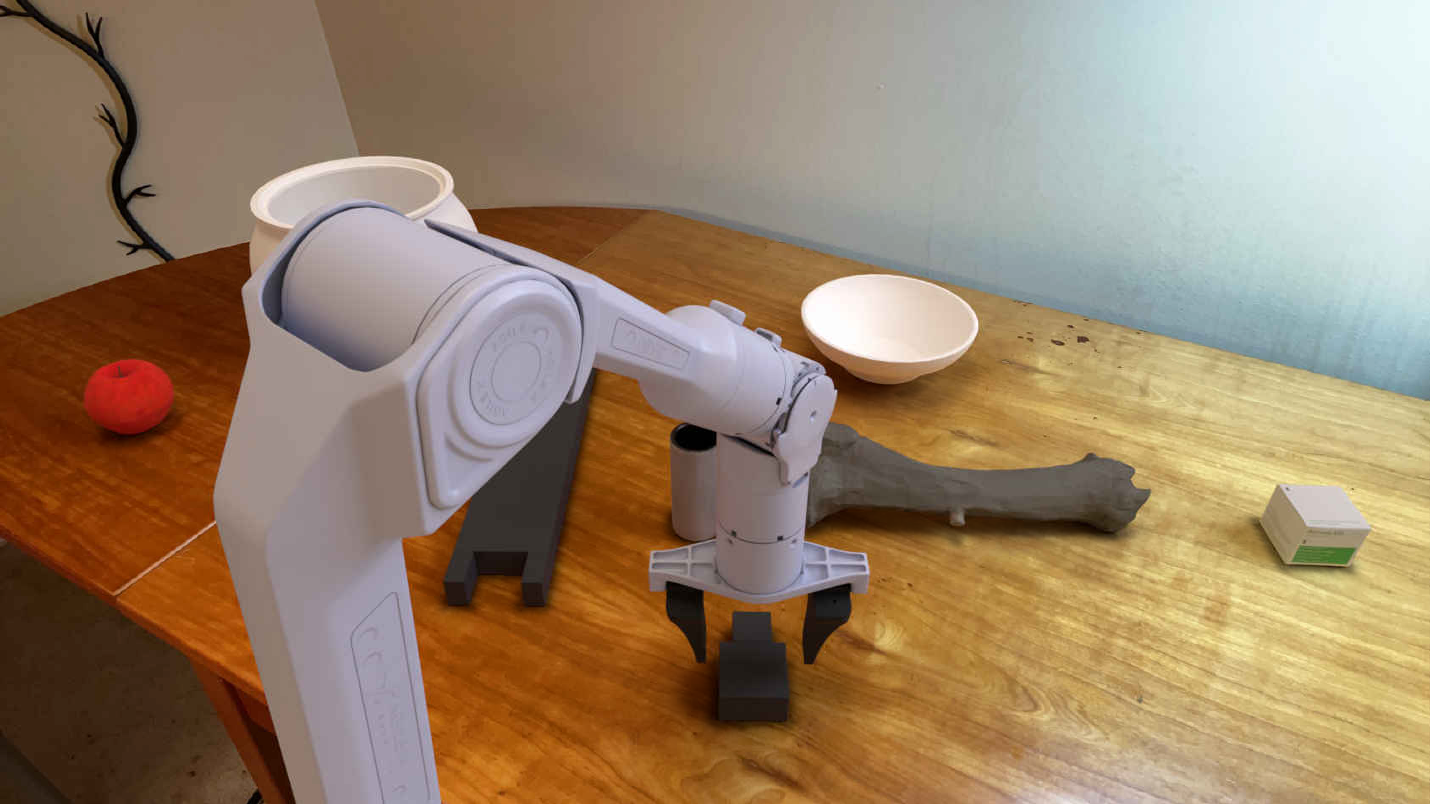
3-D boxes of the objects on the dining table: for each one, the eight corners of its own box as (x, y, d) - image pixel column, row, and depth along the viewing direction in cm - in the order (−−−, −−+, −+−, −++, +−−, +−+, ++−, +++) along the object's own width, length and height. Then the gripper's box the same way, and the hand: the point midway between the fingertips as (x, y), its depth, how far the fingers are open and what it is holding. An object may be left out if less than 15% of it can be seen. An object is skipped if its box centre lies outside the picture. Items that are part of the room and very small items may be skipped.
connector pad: (787, 721, 66) (789, 697, 64) (718, 721, 66) (719, 696, 64) (781, 635, 73) (783, 611, 71) (719, 634, 73) (719, 610, 71)
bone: (781, 540, 81) (786, 460, 76) (780, 472, 89) (785, 395, 84) (1149, 555, 80) (1180, 474, 75) (1115, 484, 88) (1141, 407, 83)
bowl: (957, 431, 95) (968, 376, 91) (777, 395, 100) (780, 342, 96) (976, 339, 110) (986, 288, 106) (819, 312, 115) (823, 263, 111)
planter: (731, 519, 84) (733, 430, 78) (704, 549, 80) (704, 458, 74) (690, 502, 85) (688, 413, 80) (662, 530, 82) (659, 440, 76)
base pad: (545, 606, 75) (541, 582, 73) (448, 605, 75) (442, 581, 73) (600, 349, 107) (598, 329, 106) (532, 348, 108) (530, 328, 106)
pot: (325, 257, 127) (294, 144, 117) (513, 262, 126) (497, 148, 117) (223, 373, 103) (175, 242, 93) (455, 380, 102) (429, 248, 93)
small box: (1284, 566, 79) (1306, 525, 76) (1256, 521, 84) (1275, 481, 81) (1351, 569, 79) (1375, 528, 76) (1319, 524, 84) (1341, 483, 81)
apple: (149, 455, 91) (121, 394, 86) (80, 444, 92) (50, 384, 88) (201, 409, 97) (178, 350, 93) (136, 400, 98) (110, 342, 94)
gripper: (867, 473, 61) (848, 611, 69) (651, 470, 61) (657, 609, 69) (881, 547, 55) (860, 689, 63) (643, 545, 55) (651, 686, 63)
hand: (754, 652), depth 65 cm, fingers open, 7 cm apart
